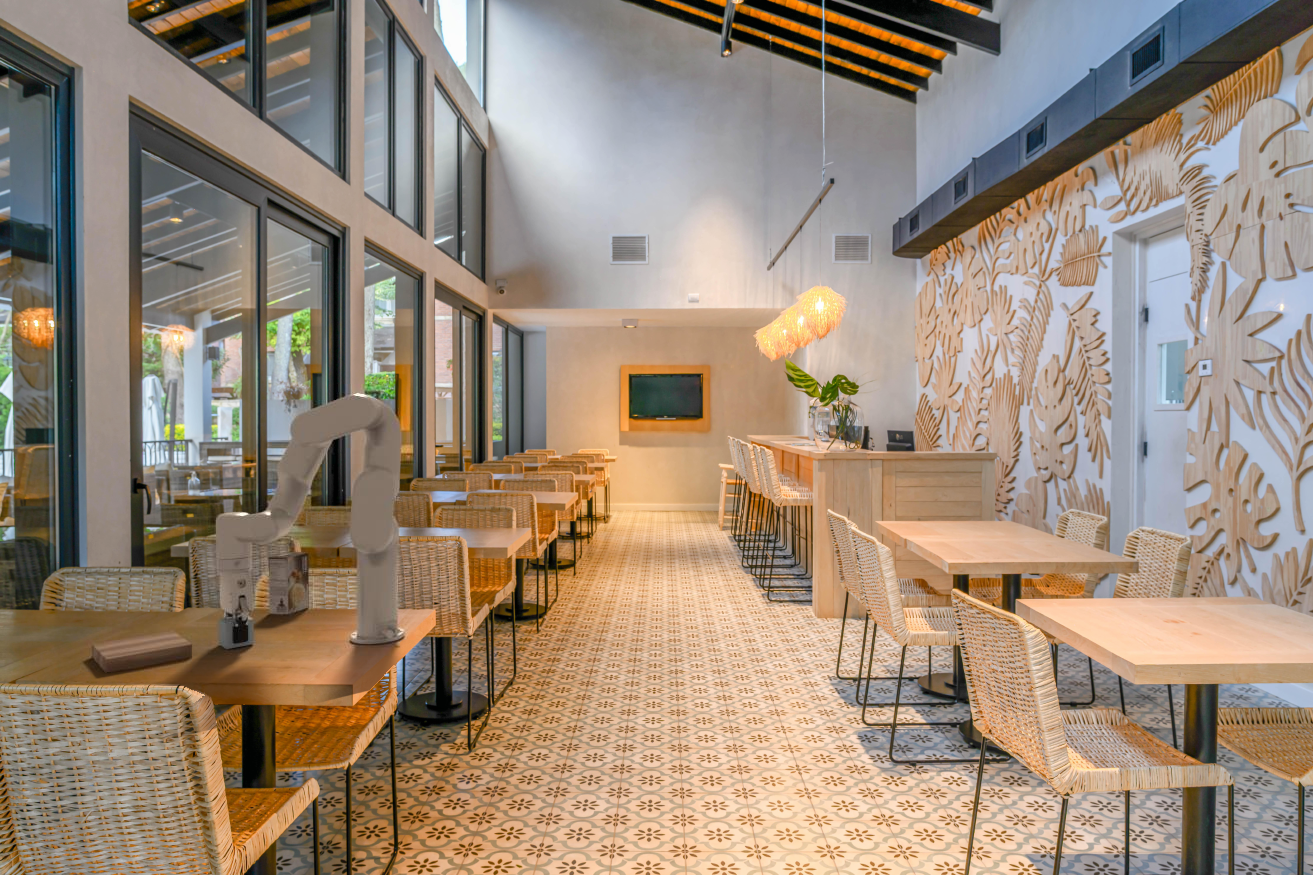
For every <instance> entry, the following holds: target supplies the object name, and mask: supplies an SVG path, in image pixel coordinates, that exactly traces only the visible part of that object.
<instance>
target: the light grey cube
mask: <svg viewBox="0 0 1313 875" xmlns="http://www.w3.org/2000/svg"><path fill="white" fill-rule="evenodd" d="M240 616H241V615H240ZM238 618H239V616H237V620H238ZM254 624H255V623H254V618H252V617H251V616H249V615H248V641H247V642H242V643H237V644H234V643H233V627H234V620H233V617H228V618H224V617H222V618H218V619H217V629H218V630H217V636H218V642H217V644H218V645H219V646H221V647H222V648H224V649H225V650H230V649H234V648H239V647H245V646H250V645H254V644H255V638H254V637H255V635H254V634H255V632H254V631H255V630H254Z"/></svg>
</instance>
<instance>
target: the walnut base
mask: <svg viewBox="0 0 1313 875" xmlns="http://www.w3.org/2000/svg"><path fill="white" fill-rule="evenodd" d="M91 658H92V659H93V660H94V661H95V662H96V664H97V665H98V664H99V665H98V666H99V667H100V668H101V669H102V670H103V671H104V673H106V672H111V673H114V672H113V671H116V672H120V671H119V670H121V671H126V670H131V669H137V668H143V667H147V666H148V667H149V666H152V665H158V664H159V665H160V664H164V663H170V662H175V661H180V660H185V659H190V658H191V659H192V658H193V644H192V643H191V642H189V641H188V640H187V639H185V638H184V637H182V636H181V635H180V634H178V633H177V632H176V631H174V630H171V631H165V632H158V633H153V634H147V635H139V636H134V637H128V638H122V639H116V640H110V641H104V642H97V643H92V644H91Z"/></svg>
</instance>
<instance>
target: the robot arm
mask: <svg viewBox="0 0 1313 875" xmlns="http://www.w3.org/2000/svg"><path fill="white" fill-rule="evenodd" d="M289 428H290V429H289V431H290V436H291V439H290V440H289V442H288V444H287V447H286V448H285V450H284V453H283V454H282V457H281V458H280V461H279V462H278V464H277V467H276V469H277V470H276V474H277V485H276V488H275V491H274V494H273V496H272V498H271V499H270V501H269V503H268V505H267V507H266V509H265V510H264V511H262V512H257V513H251V514H250V513H248V512H246V511H245V512H243V511H237V512H236V511H234V512H233V511H232V512H231V511H230V512H224V513H220V514H218V515H217V516H216V518H215V535H216V536H215V545H216V547H215V548H216V549H215V551H216V573H217V574H220V578H219V603H220V609H221V610H223V618H228V617H233V620H234V627H233V643H234V644H237V643H242V642H247V641H248V616H249V614H250V613H252V612H253V611H254V609H255V603H254V602H255V600H254V587H253V578H252V573H251V571H252V570H253V568H254V567H253V544H258V545H259V544H260V545H261V544H262V545H267V544H272V543H273V542H275V541H277V540H280V539H281V538H283V537H285V536H286V535H287V534H289V533H290V531H291V530H292V529H293V526H294V525H295V523H296V521H297V520H298V517H299V515H300V513H301V512H302V510H303V507H304V505H305V502H306V499H307V498H308V495H309V491H310V489H311V488H312V483H313V480H314V478H315V477H316V474H317V472H318V470H319V468H320V467H321V465H322V462H323V460H324V458H325V456H326V455H327V452H328V450H329V449H330V447H331V444H332V442H333V441H334V440H337V439H339V438H342V437H344V436H347V435H349V434H352V433H355V432H358V431H361V430H363V431H364V433H365V438H366V439H365V445H364V459H363V467H362V468H363V469H362V472H361V473H359V475H357V477H356V478H355V480H354V483H353V486H352V494H351V504H350V518H349V519H350V520H349V530H348V531H349V539H350V542H351V544H352V546H353V548H355V550H357V552H356V630H355V631H354V632H352V633H350V635H349V640H350V642H352V643H355V644H358V645H377V644H378V645H379V644H387V643H391V642H395V641H397V640H400V639H403V637H405V629H403V628H400V627H399V623H398V622H399V618H398V617H399V609H398V608H399V602H398V597H399V596H398V589H399V588H398V587H399V586H398V585H399V584H398V581H399V579H398V576H399V575H398V574H399V568H398V567H399V561H398V560H399V542H400V541H399V540H400V538H399V537H400V529H399V524H398V520H397V519H396V517H395V516H394V510H395V500H396V497H397V496H398V494H399V492H400V484H401V481H400V480H401V479H400V478H401V463H402V462H401V460H402V438H403V434H402V427H401V424H400V420H399V419H398V416H397V414H396V413H395V412H394V410H393V409H392V408H391V407H390V406H388V405H387V404H386V403H384V402H383V401H381V400H380V399H378V398H376V397H375V396H371V395H368V394H362V393H353V394H348V395H346V396H343V397H340V398H337V399H336V400H335V399H334V400H332V401H330V402H328V403H324V404H322V405H320V406H319V405H318V406H317V407H314V408H311V409H308V410H306V411H303V412H301V413H299V414H297V415H296V416H295V417H294V418H293V420H292V422H291V424H290V427H289ZM239 611H240V612H239ZM240 615H241V616H240ZM237 616H239V618H238V620H237Z"/></svg>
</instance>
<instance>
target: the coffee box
mask: <svg viewBox="0 0 1313 875" xmlns="http://www.w3.org/2000/svg"><path fill="white" fill-rule="evenodd" d="M309 569H310V568H309V552H308V551H307V552H304V551H301V552H300V551H289V552H285V553H281V554H275V555H272V556H268V599H269V602H268V605H269V606H268V608H269V609H268V610H269V612H268V613H269V614H270V615H283V614H289V615H292V614H294V612H295V613H297V612H299V611H302V610H306V609H308V608H310V584H309V583H310V581H309V580H310V575H309V574H310V572H309V571H310V570H309ZM296 611H297V612H296ZM291 613H292V614H291Z"/></svg>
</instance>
